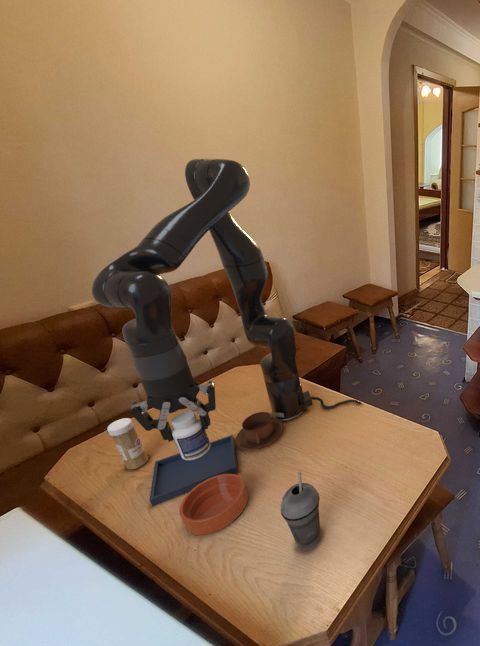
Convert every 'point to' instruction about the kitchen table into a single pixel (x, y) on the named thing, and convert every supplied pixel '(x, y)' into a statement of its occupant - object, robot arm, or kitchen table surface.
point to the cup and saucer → (259, 431)
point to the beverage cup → (302, 514)
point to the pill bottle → (189, 436)
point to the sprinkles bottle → (128, 443)
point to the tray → (192, 470)
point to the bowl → (213, 504)
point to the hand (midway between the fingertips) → (189, 432)
